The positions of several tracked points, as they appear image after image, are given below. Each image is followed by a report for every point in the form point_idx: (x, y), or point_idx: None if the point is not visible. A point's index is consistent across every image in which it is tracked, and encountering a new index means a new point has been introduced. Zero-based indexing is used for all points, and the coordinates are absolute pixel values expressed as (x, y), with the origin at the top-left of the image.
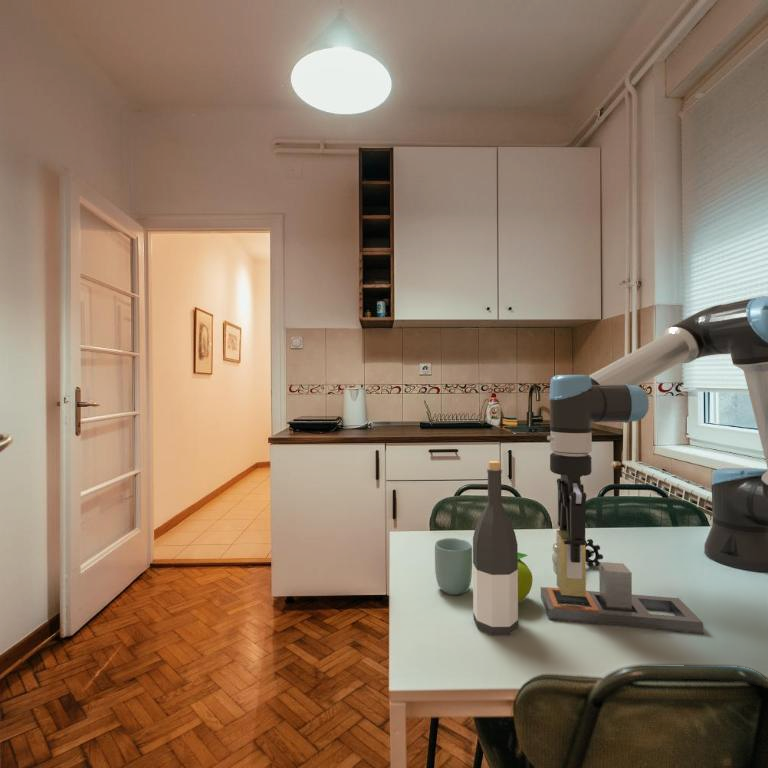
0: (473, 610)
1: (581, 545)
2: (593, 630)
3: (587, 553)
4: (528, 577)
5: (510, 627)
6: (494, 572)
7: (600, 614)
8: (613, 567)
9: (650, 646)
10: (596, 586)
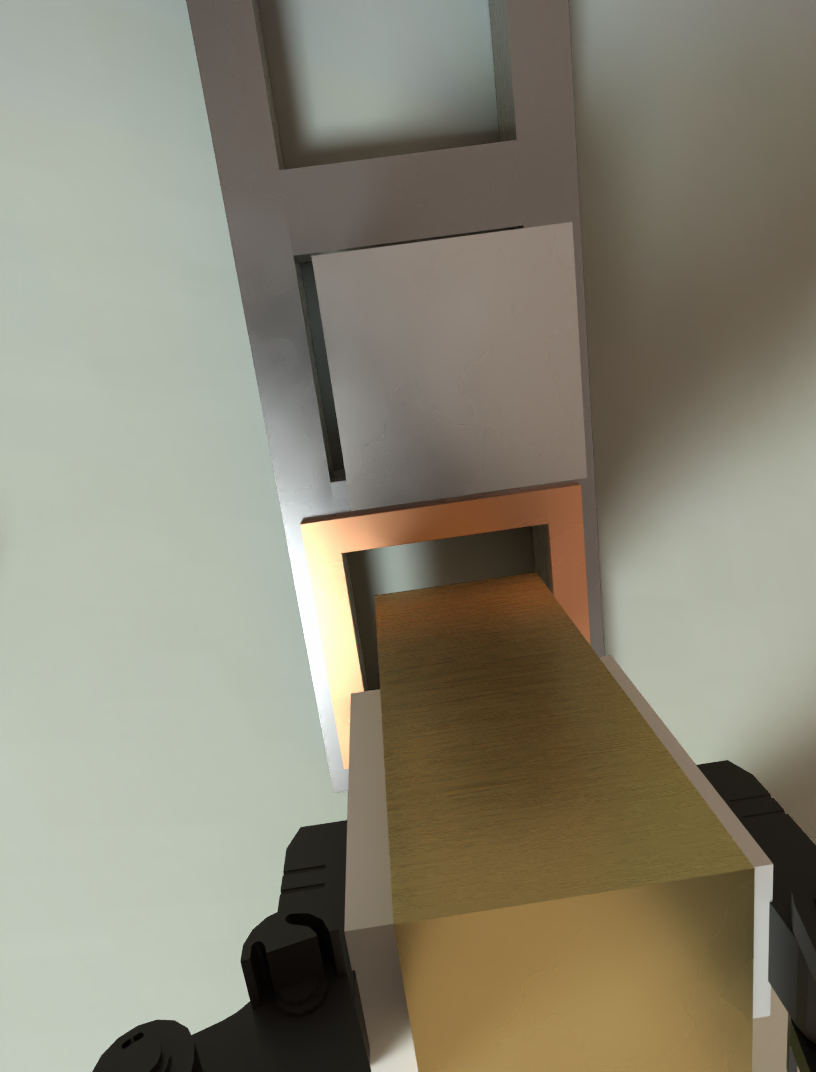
0: None
1: (764, 858)
2: (648, 510)
3: None
4: None
5: None
6: None
7: (593, 475)
8: (465, 389)
9: (754, 228)
10: (23, 416)
